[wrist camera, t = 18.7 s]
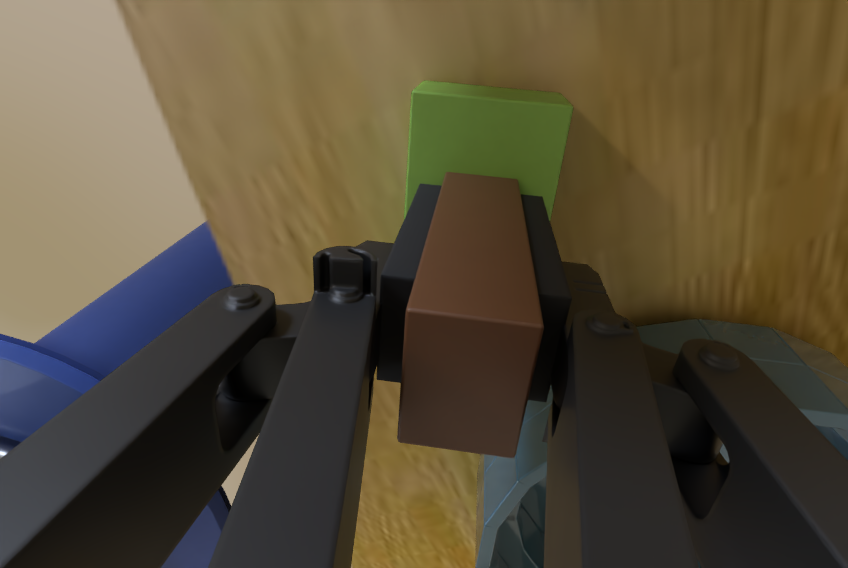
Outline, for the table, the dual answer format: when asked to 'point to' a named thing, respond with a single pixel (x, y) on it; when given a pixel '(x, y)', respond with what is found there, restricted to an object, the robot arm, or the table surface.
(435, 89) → the sponge brush
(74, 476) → the robot arm
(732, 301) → the table surface
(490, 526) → the bowl
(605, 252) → the table surface
